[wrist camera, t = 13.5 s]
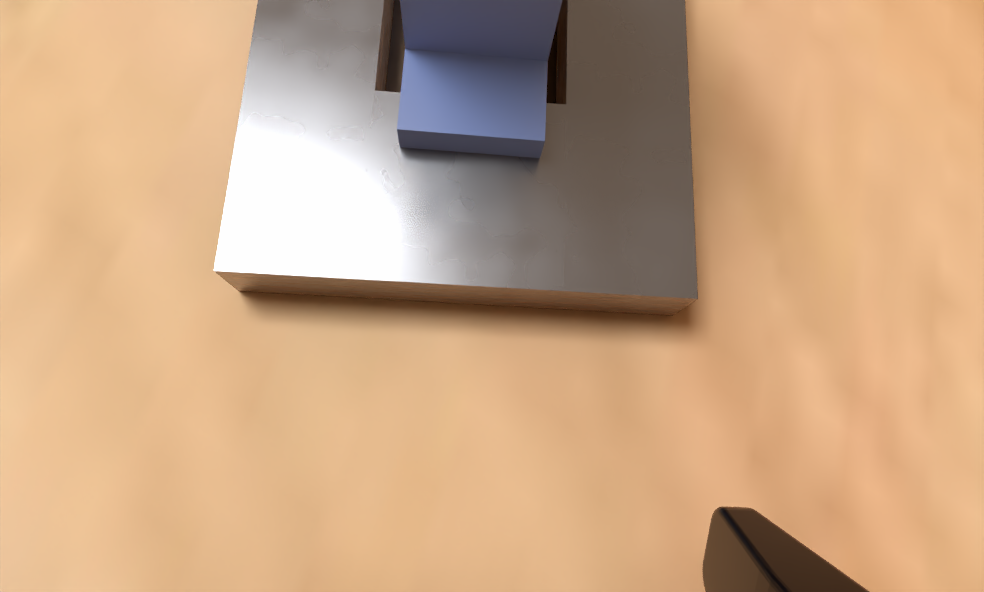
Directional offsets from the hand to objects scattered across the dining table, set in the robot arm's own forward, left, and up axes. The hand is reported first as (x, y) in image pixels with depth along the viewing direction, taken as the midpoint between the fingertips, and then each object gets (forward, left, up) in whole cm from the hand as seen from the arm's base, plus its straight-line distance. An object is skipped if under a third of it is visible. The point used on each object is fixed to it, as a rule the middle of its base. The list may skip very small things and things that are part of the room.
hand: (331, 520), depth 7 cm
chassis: (+12, -7, -10) cm, 18 cm away
